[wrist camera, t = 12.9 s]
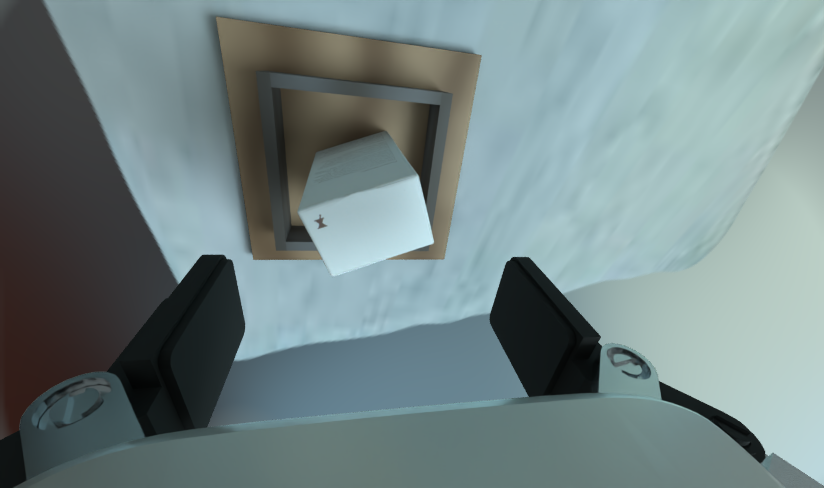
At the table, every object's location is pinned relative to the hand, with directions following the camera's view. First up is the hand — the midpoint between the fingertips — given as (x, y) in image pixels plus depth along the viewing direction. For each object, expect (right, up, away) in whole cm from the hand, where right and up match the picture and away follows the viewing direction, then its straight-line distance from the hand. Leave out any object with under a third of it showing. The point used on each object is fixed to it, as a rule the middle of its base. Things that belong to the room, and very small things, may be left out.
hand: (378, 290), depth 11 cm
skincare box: (-3, +8, +15) cm, 17 cm away
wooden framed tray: (-4, +9, +16) cm, 18 cm away
